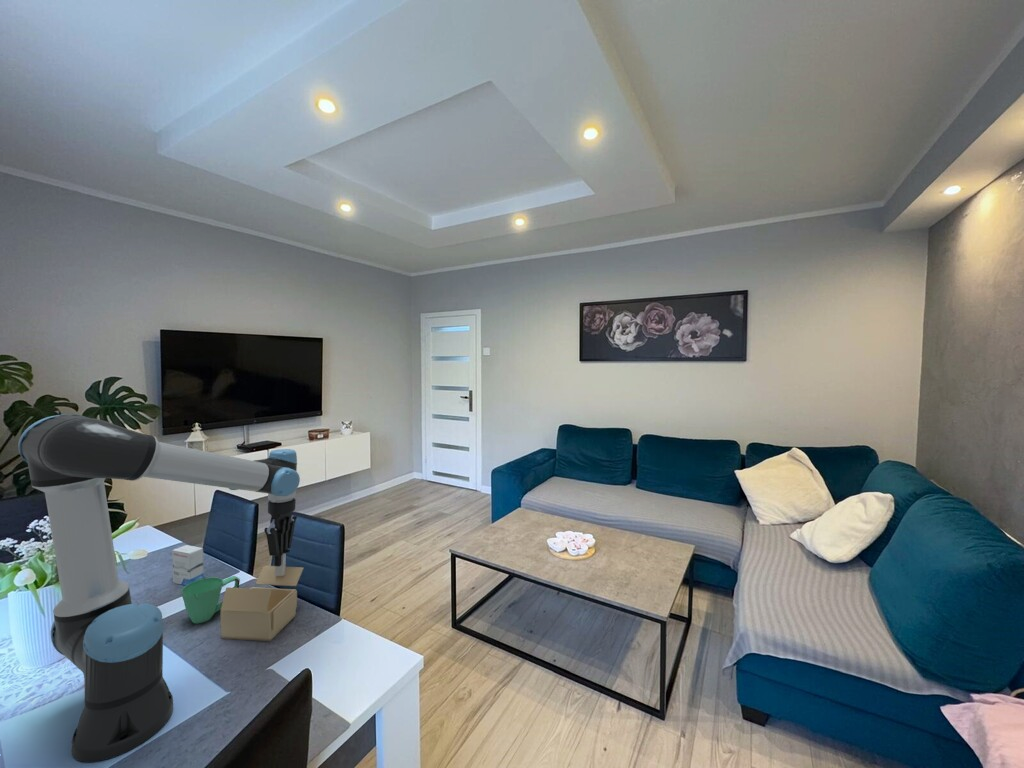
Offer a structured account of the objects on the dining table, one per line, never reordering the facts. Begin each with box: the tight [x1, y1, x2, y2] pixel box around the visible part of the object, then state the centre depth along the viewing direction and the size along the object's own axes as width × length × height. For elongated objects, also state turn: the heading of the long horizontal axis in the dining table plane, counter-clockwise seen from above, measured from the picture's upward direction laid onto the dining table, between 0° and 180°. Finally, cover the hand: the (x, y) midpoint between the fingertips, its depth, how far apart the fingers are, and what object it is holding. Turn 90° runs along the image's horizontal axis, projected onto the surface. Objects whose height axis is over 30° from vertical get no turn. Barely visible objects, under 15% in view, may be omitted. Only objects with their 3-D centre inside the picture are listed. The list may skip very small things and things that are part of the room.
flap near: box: [220, 587, 271, 612], centre depth 111 cm, size 1×13×6 cm, turn 87°
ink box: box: [171, 544, 205, 587], centre depth 140 cm, size 9×5×12 cm, turn 73°
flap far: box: [255, 565, 304, 587], centre depth 126 cm, size 1×13×6 cm
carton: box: [220, 586, 298, 642], centre depth 117 cm, size 12×15×8 cm
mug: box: [181, 575, 241, 624], centre depth 122 cm, size 15×10×10 cm
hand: (279, 574), depth 125 cm, fingers closed
